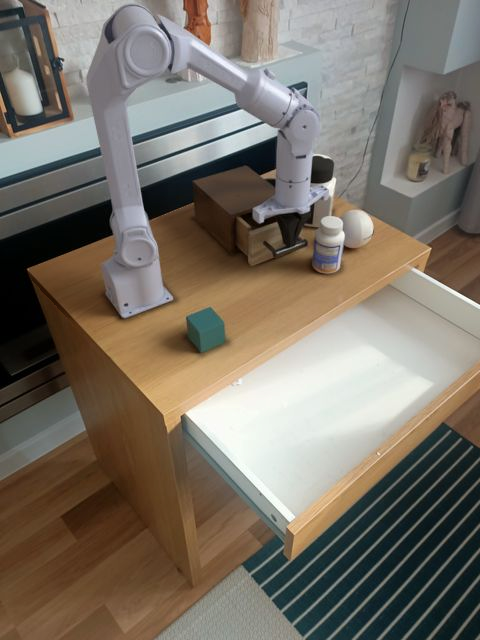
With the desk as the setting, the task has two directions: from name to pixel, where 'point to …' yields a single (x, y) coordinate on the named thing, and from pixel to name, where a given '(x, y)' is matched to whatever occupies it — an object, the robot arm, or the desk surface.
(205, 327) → the block
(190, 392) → the desk surface
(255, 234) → the drawer
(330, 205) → the container
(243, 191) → the cabinet
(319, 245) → the pill bottle
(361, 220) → the white ball
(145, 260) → the robot arm
